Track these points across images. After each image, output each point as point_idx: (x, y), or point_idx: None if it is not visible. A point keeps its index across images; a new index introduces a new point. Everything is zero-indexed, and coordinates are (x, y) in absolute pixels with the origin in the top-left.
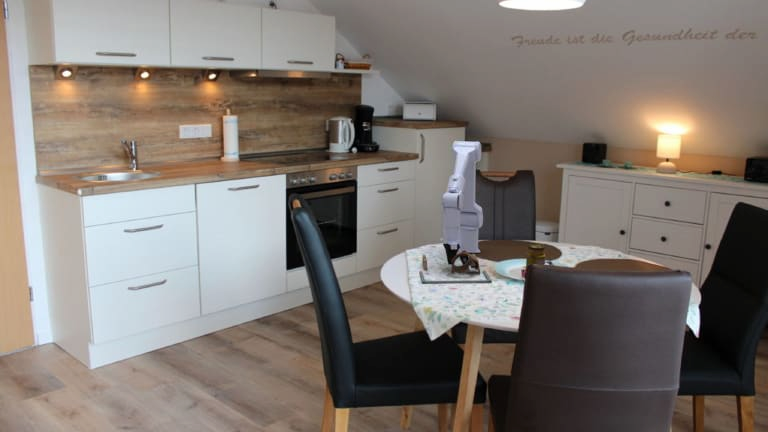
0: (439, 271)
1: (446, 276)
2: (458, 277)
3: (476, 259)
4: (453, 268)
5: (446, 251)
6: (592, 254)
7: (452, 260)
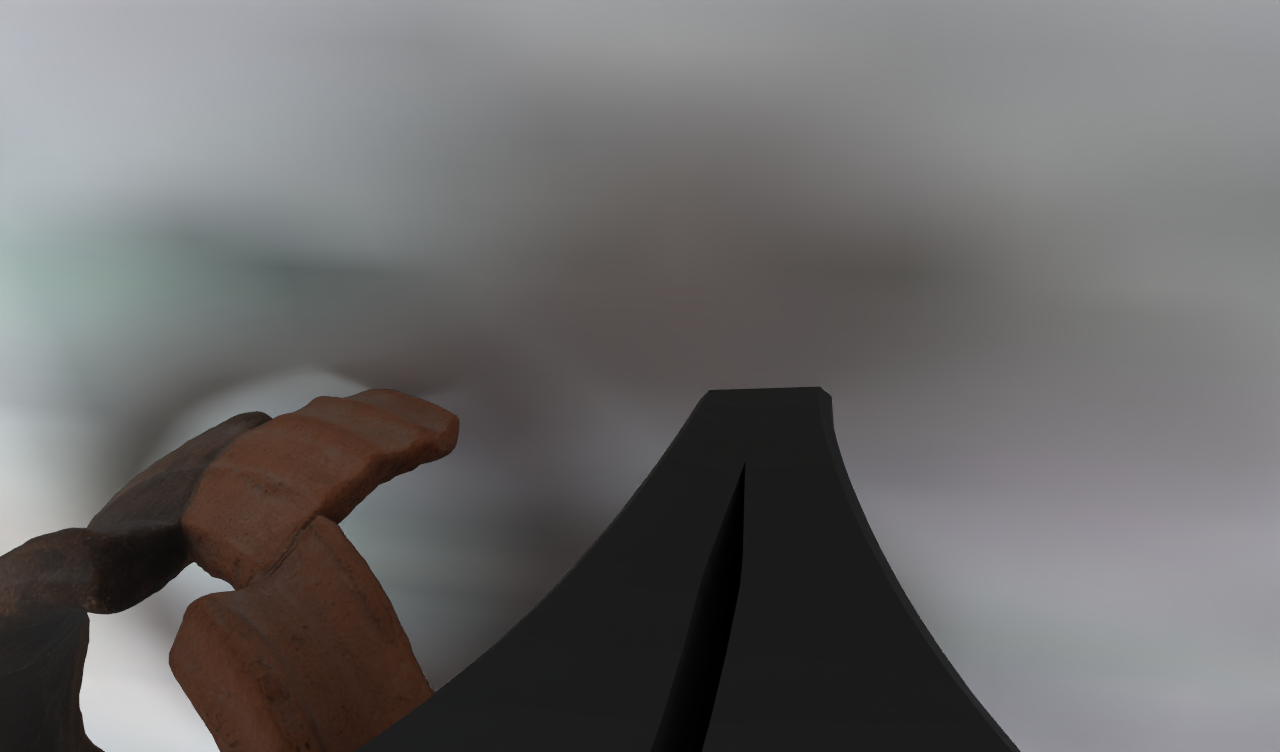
0: (519, 12)
1: (78, 209)
2: (113, 470)
3: None
4: (146, 500)
5: (373, 745)
6: None
7: (176, 649)
